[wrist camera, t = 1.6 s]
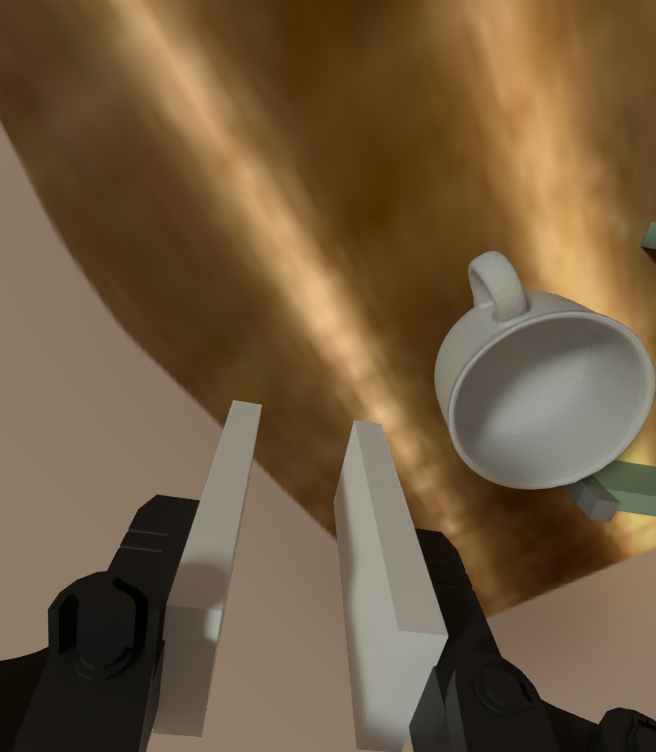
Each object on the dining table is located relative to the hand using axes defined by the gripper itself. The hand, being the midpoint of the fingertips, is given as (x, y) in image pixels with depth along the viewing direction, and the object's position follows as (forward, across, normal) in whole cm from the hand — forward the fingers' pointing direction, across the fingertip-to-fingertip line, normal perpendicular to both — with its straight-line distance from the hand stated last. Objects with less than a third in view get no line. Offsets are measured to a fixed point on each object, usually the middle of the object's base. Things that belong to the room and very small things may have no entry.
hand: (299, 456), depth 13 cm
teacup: (+19, +13, 0) cm, 23 cm away
